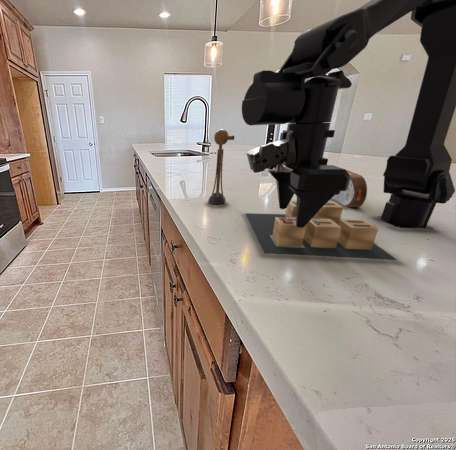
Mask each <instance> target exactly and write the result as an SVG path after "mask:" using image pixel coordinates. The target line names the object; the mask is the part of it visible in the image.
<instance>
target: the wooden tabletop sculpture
mask: <svg viewBox="0 0 456 450" xmlns="http://www.w3.org/2000/svg"><path fill="white" fill-rule="evenodd" d="M213 139H214V142H215V143H216V145H218V148H217V153H216V168H215V176H214V177H215V178H214V185H213V189H212V192H211V195H210V196H209V198H208V201H207V203H208V204H209V205H212V206H224V205H225V204H227V202H226V197H225V196H224V192H223V191H224V190H223V164H224V163H223V161H224V150H225V149H224V148H223V145H226V144H227V143H228V141H234V140H235V135H231V134H230V135H229V133H228V131H227V130H226V129H223V128H220V129H218V130H216V132H215V133H214V137H213ZM220 191H221V192H220Z"/></svg>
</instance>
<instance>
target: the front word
mask: <svg viewBox="0 0 456 450" xmlns="http://www.w3.org/2000/svg"><path fill="white" fill-rule="evenodd" d="M378 232H379V228H378V227H376V226H375V225H373V224H371V223H370V222H368V221H367V220H365V219H348V218H347V219H344V218H343V219H342V218H340V220H339V223H338V224H336V223H335V222H334V221H332V220H331V219H311V220H310V221H309V222H308V223H307V224H306V229H305V234H304V238H303V239H304V240H305V241H306V242H307V243H308V244H309V245H310V247H318V248H336V246H337V242H338V243H340V244H341V245H342V246H343V247H344V248H345V249H362V250H371V249H372V246H373V243H374V244H375V241H376V237H377V235H378Z"/></svg>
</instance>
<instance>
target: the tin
mask: <svg viewBox="0 0 456 450" xmlns="http://www.w3.org/2000/svg"><path fill="white" fill-rule="evenodd" d="M345 170H346V171H347V172H348V173H349V175H350V176H351V178H350V182H349V185H348V189H347V190H346V191H341V192H340V194H338V195H334V196H333V197H332V198H331V199H333V200H335V202H338V203H339V204H341V205H343V206H344V207H347V208H360V207H361V206H362V205H363V204H364V203H365V202H366V199H367V194H368V185H367V181H366V179H365V178H364V176H363V175H362V174H358V173H356V172H354V171H351V170H348V169H345Z"/></svg>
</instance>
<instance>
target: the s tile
mask: <svg viewBox="0 0 456 450" xmlns="http://www.w3.org/2000/svg"><path fill="white" fill-rule="evenodd" d="M305 229H306V226H305V227H303V228H299V227H297V226H296V218H291V217H275V223H274V229H273V234H272V236H273V238H274V239H275V241H276V243H277V244H278V245H286V246H302V242H303V238H304V234H305Z"/></svg>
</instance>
